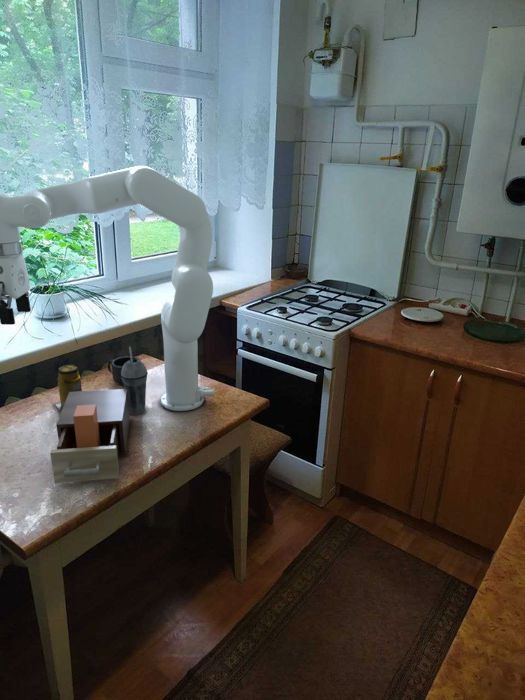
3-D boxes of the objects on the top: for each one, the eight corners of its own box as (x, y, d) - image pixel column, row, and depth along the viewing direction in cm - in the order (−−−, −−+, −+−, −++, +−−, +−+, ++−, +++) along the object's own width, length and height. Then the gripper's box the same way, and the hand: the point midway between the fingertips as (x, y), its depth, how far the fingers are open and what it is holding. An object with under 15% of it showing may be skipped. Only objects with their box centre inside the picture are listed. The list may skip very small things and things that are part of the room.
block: (101, 452, 118) (96, 404, 113) (98, 464, 113) (93, 415, 108) (82, 453, 117) (76, 405, 112) (79, 466, 113) (73, 416, 108)
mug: (148, 379, 160) (146, 359, 157) (130, 390, 152) (128, 369, 150) (118, 372, 165) (116, 352, 162) (99, 382, 157) (97, 362, 154)
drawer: (117, 490, 107) (114, 460, 104) (50, 496, 104) (45, 465, 101) (124, 440, 125) (121, 413, 122) (67, 444, 123) (63, 416, 120)
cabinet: (125, 455, 121) (122, 420, 117) (61, 460, 118) (56, 424, 114) (129, 420, 136) (127, 388, 132) (73, 424, 133) (69, 391, 130)
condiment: (80, 398, 147) (75, 361, 142) (91, 409, 141) (86, 371, 136) (55, 405, 143) (49, 367, 138) (65, 417, 137) (59, 378, 132)
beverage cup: (154, 407, 143) (151, 342, 136) (141, 418, 137) (136, 352, 129) (132, 402, 146) (128, 339, 138) (118, 413, 139) (112, 348, 132)
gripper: (5, 256, 109) (17, 329, 116) (34, 242, 125) (44, 307, 132) (-30, 256, 109) (-16, 329, 115) (4, 242, 125) (15, 307, 131)
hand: (16, 317), depth 123 cm, fingers open, 9 cm apart
